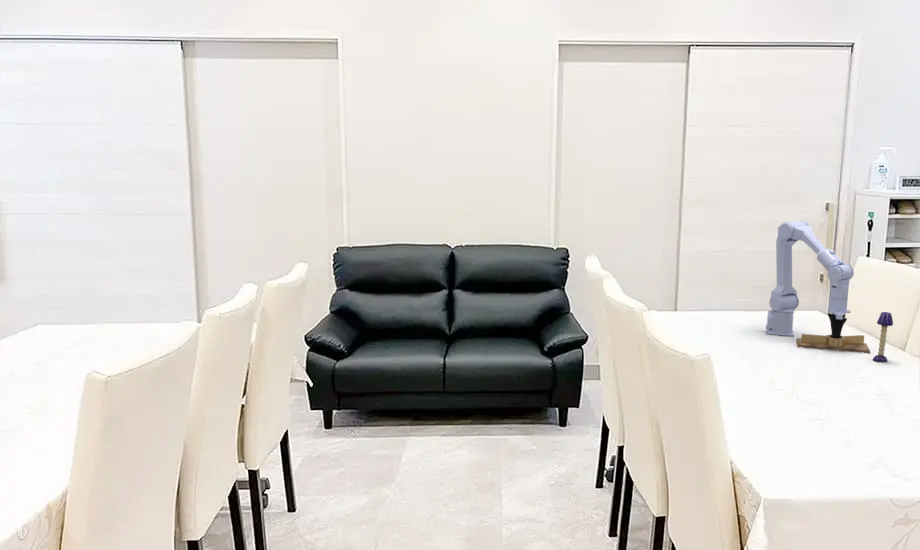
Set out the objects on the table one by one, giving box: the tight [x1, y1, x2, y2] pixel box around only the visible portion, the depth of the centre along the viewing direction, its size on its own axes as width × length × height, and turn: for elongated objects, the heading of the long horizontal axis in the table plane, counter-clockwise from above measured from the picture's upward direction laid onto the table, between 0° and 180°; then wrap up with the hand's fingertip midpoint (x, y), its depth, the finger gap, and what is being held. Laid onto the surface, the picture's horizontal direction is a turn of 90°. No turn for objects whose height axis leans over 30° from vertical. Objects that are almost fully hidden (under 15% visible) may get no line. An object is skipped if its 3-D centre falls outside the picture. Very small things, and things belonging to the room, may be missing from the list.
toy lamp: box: [872, 311, 894, 363], centre depth 245 cm, size 5×5×17 cm
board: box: [796, 337, 871, 354], centre depth 265 cm, size 23×10×1 cm, turn 68°
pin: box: [830, 332, 842, 338], centre depth 262 cm, size 3×3×7 cm
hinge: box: [801, 333, 865, 348], centre depth 264 cm, size 21×9×3 cm, turn 68°
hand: (835, 335), depth 262 cm, fingers closed on pin, 3 cm apart
